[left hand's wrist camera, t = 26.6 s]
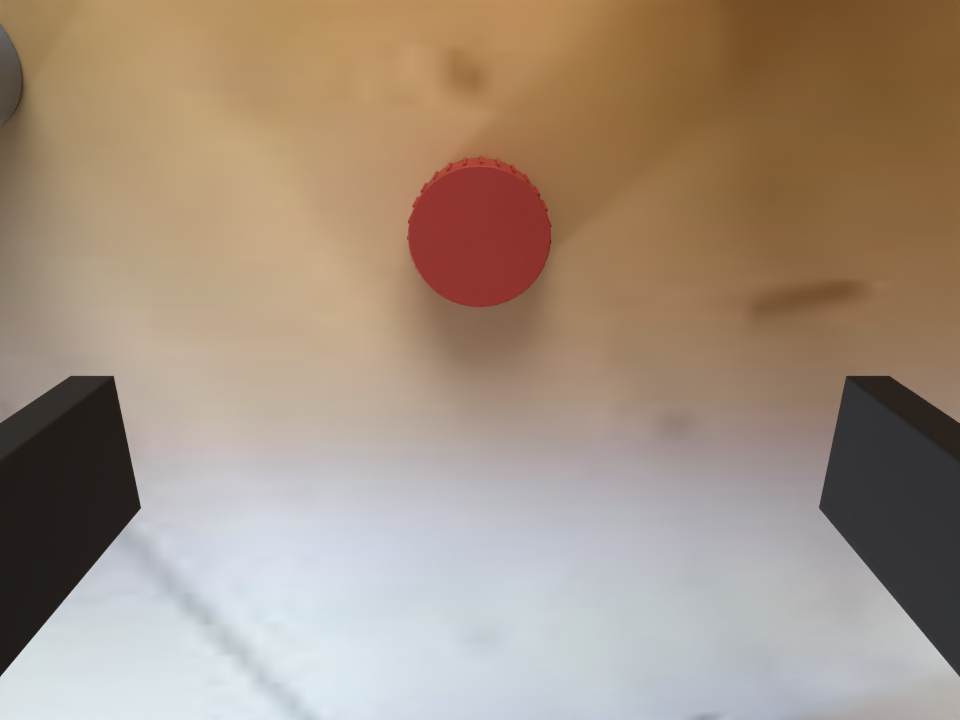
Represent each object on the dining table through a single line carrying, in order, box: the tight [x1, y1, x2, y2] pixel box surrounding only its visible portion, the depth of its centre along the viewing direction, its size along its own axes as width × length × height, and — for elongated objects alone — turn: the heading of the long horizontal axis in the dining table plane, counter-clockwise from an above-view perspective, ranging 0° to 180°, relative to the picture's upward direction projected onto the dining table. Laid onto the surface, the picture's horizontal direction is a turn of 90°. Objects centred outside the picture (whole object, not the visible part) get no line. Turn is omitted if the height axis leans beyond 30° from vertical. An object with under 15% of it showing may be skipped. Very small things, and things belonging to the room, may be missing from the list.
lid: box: [407, 156, 551, 307], centre depth 26 cm, size 5×5×2 cm
